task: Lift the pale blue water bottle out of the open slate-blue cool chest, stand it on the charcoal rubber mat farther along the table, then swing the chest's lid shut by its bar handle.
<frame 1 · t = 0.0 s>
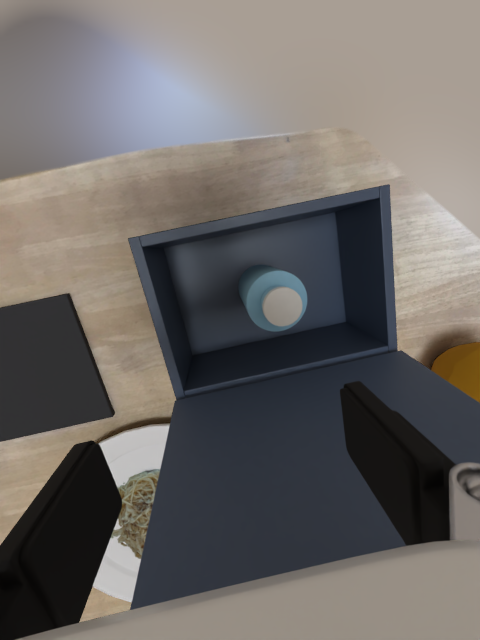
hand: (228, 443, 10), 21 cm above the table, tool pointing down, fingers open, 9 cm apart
chest: (259, 286, 30), on the table
plated food: (175, 510, 37), on the table
apple: (446, 364, 35), on the table
lid: (325, 470, 17), point 16 cm above the table, hinge at 95.0°
mat: (32, 370, 30), on the table
bottle: (260, 287, 29), point 1 cm above the table, touching chest
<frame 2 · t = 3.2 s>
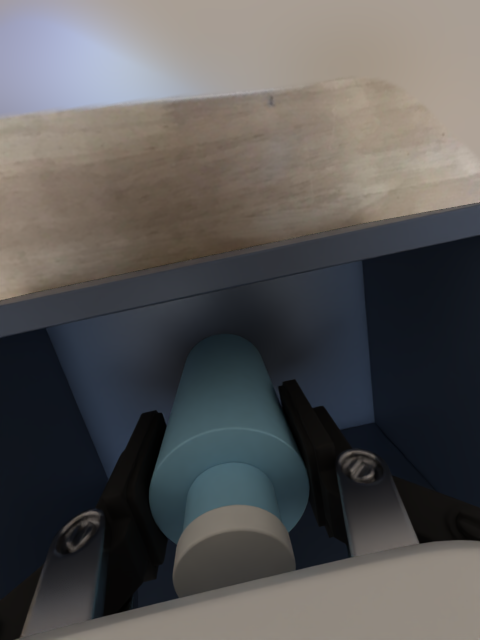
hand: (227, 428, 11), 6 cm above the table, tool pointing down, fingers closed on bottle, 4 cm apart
chest: (224, 365, 17), on the table
bottle: (224, 371, 16), point 1 cm above the table, touching chest, gripper
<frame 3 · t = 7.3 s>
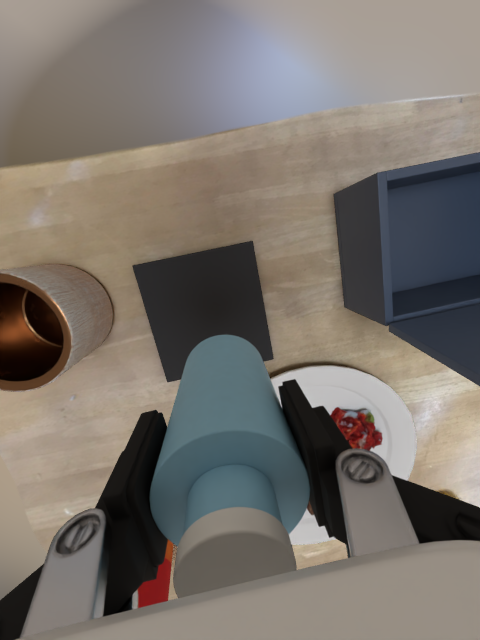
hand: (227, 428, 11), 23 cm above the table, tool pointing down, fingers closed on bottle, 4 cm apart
chest: (416, 237, 33), on the table
plated food: (310, 453, 40), on the table
planter: (68, 310, 32), on the table
coffee cup: (154, 537, 42), on the table
mat: (207, 314, 33), on the table
bottle: (224, 372, 16), point 18 cm above the table, touching gripper
when the fingers open (6 cm above the table, at t = 11.4 s): bottle stays where it is, resting on mat.
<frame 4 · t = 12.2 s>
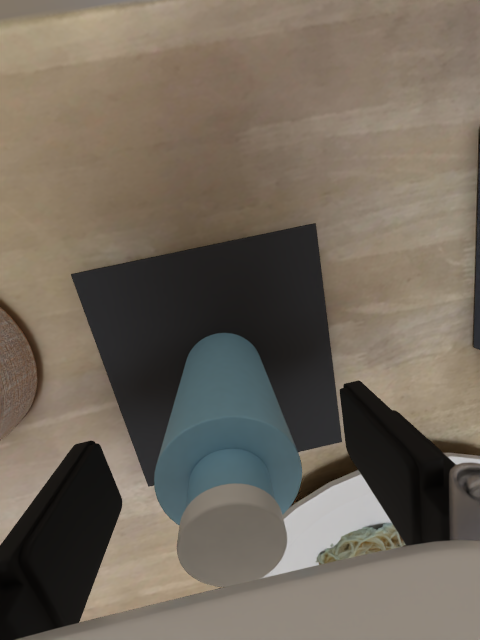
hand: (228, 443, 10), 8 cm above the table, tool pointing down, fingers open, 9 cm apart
plated food: (388, 579, 24), on the table
mat: (223, 364, 18), on the table
bottle: (223, 368, 17), point 1 cm above the table, touching mat
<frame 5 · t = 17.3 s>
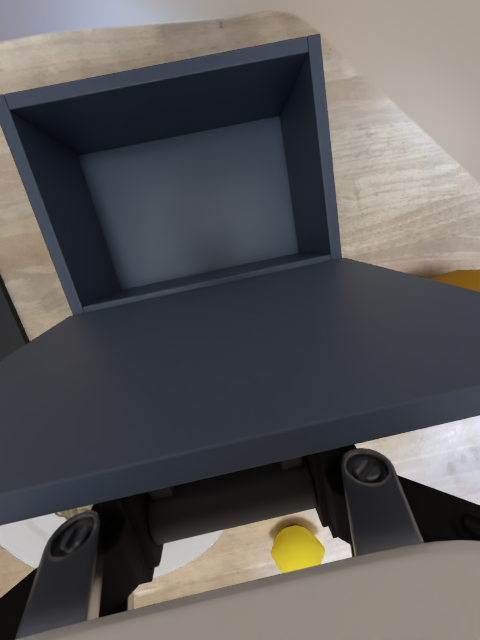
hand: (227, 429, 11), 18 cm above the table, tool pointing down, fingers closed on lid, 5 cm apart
chest: (196, 209, 26), on the table
plated food: (116, 476, 33), on the table
apple: (418, 308, 31), on the table
lid: (218, 370, 13), point 16 cm above the table, hinge at 95.0°, touching gripper
lemon: (292, 528, 38), on the table
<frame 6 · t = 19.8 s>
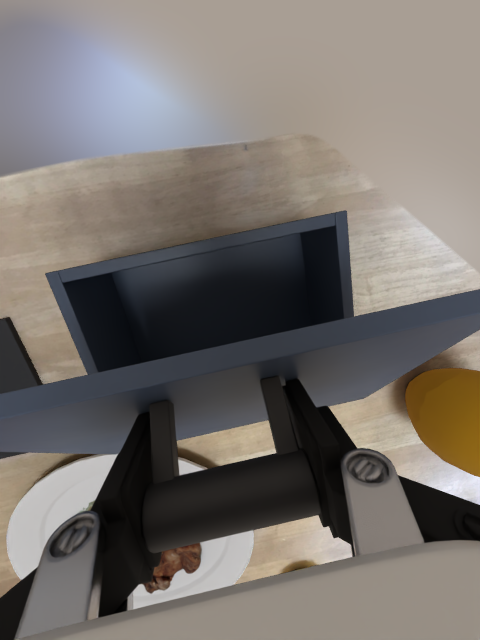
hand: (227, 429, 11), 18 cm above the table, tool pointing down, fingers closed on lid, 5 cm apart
chest: (219, 307, 28), on the table
plated food: (140, 532, 36), on the table
apple: (422, 385, 33), on the table
lid: (236, 446, 13), point 16 cm above the table, hinge at 44.6°, touching gripper
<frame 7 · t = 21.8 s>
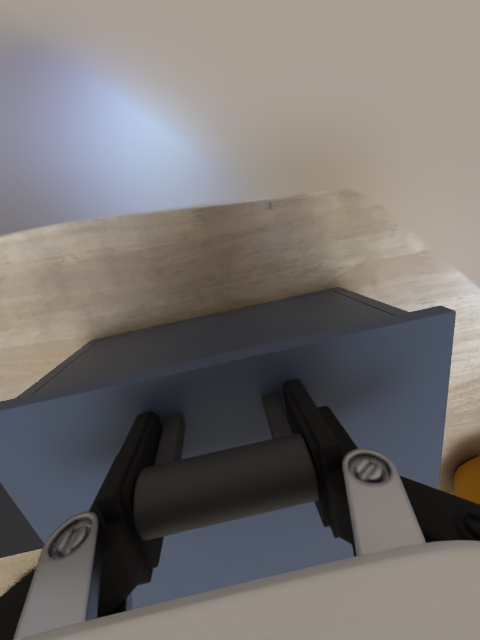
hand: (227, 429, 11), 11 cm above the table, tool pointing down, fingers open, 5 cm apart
chest: (234, 389, 23), on the table
apple: (472, 468, 28), on the table
lid: (250, 532, 11), point 12 cm above the table, hinge at 4.0°
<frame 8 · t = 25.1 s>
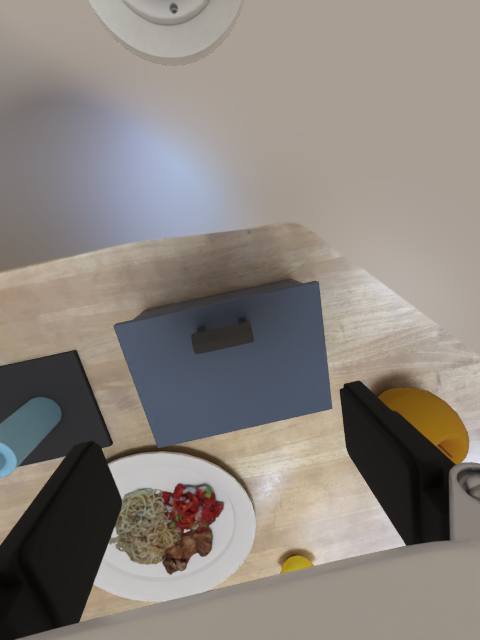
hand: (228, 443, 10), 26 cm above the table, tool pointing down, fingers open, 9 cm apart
chest: (229, 342, 37), on the table
plated food: (163, 520, 44), on the table
apple: (388, 400, 42), on the table
lid: (233, 379, 26), point 12 cm above the table, hinge at 2.5°
lemon: (295, 557, 49), on the table
mat: (45, 409, 37), on the table
bottle: (43, 412, 37), point 1 cm above the table, touching mat
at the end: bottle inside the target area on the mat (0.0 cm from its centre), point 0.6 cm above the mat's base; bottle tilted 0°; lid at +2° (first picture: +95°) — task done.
